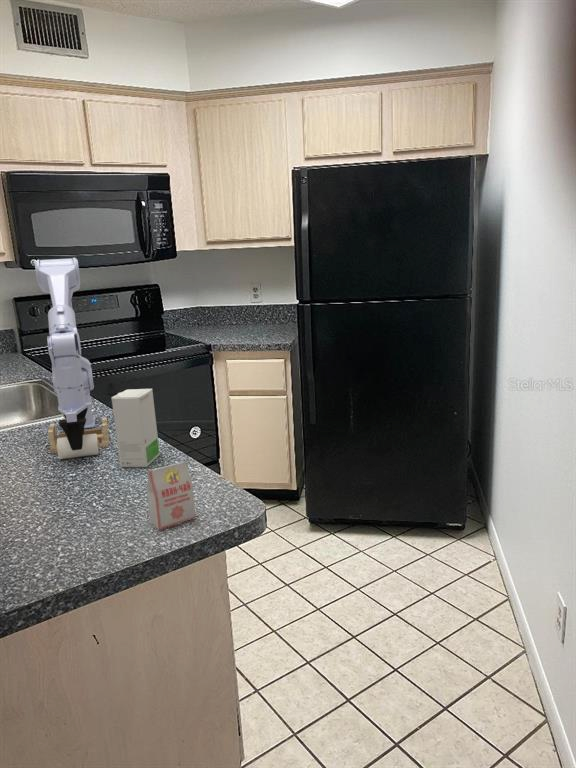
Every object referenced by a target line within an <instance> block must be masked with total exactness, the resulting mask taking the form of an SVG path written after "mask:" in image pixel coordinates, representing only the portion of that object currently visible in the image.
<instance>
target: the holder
mask: <svg viewBox="0 0 576 768" xmlns="http://www.w3.org/2000/svg"><path fill="white" fill-rule="evenodd" d="M107 419H108V418H107V416H105V417H101V427H100V428H92V429H91V428H90V429H84V435H88V434H97V440H99V448H102V447H109V446H110V435H109V429H108V427H109V426H108V420H107ZM47 433H48V434H47V435H48V440H49V448H50V449H49V450H50V454H56V453H57V438H64V437H67V436H66V434H65V432H61V433H60V432H59V433H58V434H57V429H56V423H55V422H54V423H50V425H49V429H48V431H47ZM57 454H58V453H57Z"/></svg>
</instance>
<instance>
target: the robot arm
mask: <svg viewBox="0 0 576 768" xmlns="http://www.w3.org/2000/svg"><path fill="white" fill-rule="evenodd" d="M79 267H80V266H79V260H78V259H77V258H76V257H72V258H57V259H55V258H54V259H37V260H36V261H35V262H34V268H35V276H36V281H37V285H38V286H39V289H40V290H41V292H42V293H46V294H49V295H50V300H51V303H52V307H51V308H50V309H49V310H48V312H47V319H48V332H49V336H48V335H47V338H46V339H47V350H48V355H49V358H50V361H51V371H52V372H51V376H52V385H53V386H52V387H53V390H54V393H55V394H56V396H57V402H58V403H57V404H58V406H57V409H58V412H60V413H61V414H62V415H63V419H59V420H58V424H59V425H58V426H59V427H60V428H61V430H62V431H63V433H65V434H66V436H67V439H68V441H69V444H70V447H71V449H72V450H80V449H82V444H83V435H84V430H85V429H91V428H92V429H93V428H95V427H96V416H94V415H93V410H92V401H91V394H90V393H91V391H92V390H94V388H95V385H94V378H93V377H94V375H93V369H92V366H91V362H90V360H89V359H87V358H86V357H83V356H82V347H81V346H82V345H81V339H80V334H79V332H78V328H77V323H76V312H75V311H74V308H73V303H72V298H73V294H74V293H75V292H77V291H78V290H80V289H81V288H80V287H81V277H80V276H81V275H80V268H79Z"/></svg>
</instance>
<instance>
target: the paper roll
mask: <svg viewBox="0 0 576 768" xmlns="http://www.w3.org/2000/svg"><path fill="white" fill-rule="evenodd" d="M99 449H100V447H99V440H97V434H88V435H83V444H82V449H80V450H72V449H71V447H70V444H69V441H68V439H67V437H64V438H59V437H57V455H58V456H57V457H58V459H59V460H67V459H73V458H81V457H88V456H89V457H90V456H96V455H97V456H98V455H99V454H100V453H99Z"/></svg>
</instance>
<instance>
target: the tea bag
mask: <svg viewBox="0 0 576 768" xmlns="http://www.w3.org/2000/svg"><path fill="white" fill-rule="evenodd" d="M188 466H189V465H188V461H180V462H177V463H173V464H170V465H166V466H161V467H159V468H154V469H150V470H148V471H147V474H148V475H147V484H146V485H147V487H146V488H147V489H146V493H147V503H148V513H149V514H148V515H149V522H150V524H151V525H153V526H154V528H155V529H157V530H158V531H161V530H164V528H165V529H167V527H168V528H170V526H171V527H174V526H176V524H177V525H179V524H178V523H180V524H182V523H181V522H183V523H186V522H188V521H187V520H190V521H192V520H191V519H193V520H195V519H194V518H196V506H195V496H194V487H193V483H192V479H191V475H190V471H189V467H188ZM196 519H197V518H196ZM185 521H186V522H185ZM173 525H174V526H173Z"/></svg>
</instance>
